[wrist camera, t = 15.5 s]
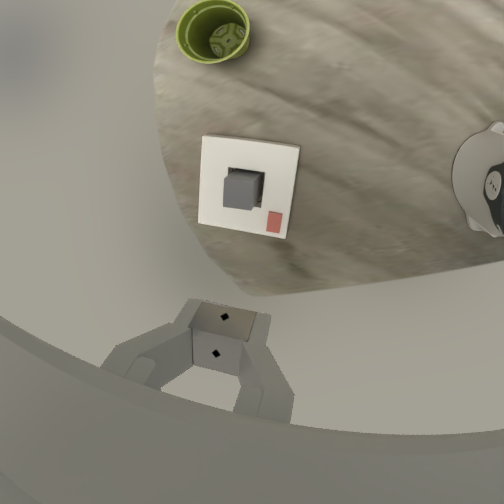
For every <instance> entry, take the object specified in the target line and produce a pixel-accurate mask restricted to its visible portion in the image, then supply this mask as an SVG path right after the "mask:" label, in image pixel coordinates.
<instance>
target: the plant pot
mask: <svg viewBox="0 0 504 504" xmlns="http://www.w3.org/2000/svg"><path fill="white" fill-rule="evenodd" d="M222 28H224V30H222V31H220V32H219V33H218V34H217V32H218V31H219V30H220V29H222ZM239 29H241V30H242V31H243V32H244V33H245V36H243V34H242V33H241V32H240V31H239ZM249 31H250V23H249V19H248V16H247V14H246V12H245V11H244V9H243V8H242V7H241V6H240V5H238V4H237V3H235V2H234V1H231V0H201V1H199V2H197V3H195V4H193V5H192V6H191V7H189V8H188V9H187V10H186V11H185V12H184V13H183V15H182V16H181V18H180V20H179V22H178V24H177V28H176V42H177V45H178V47H179V49H180V50H181V52H182V53H183V54H184V55H185V56H186V57H188V58H189V59H191V60H193V61H195V62H199V63H205V64H213V63H219V62H222V61H225V60H231V59H235V58H238V57H240V56H241V55H243V54H244V53H245V52H246V50H247V49H248V47H249V43H250V36H249ZM228 39H230V42H227V40H228ZM214 47H216V48H217V50H218V51H219V52H220V53H217V52H216V51H215V49H214Z"/></svg>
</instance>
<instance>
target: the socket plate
mask: <svg viewBox="0 0 504 504" xmlns="http://www.w3.org/2000/svg"><path fill="white" fill-rule="evenodd" d="M299 152H300V146H298V145H292V144H286V143H279V142H273V141H265V140H258V139H250V138H242V137H233V136H224V135H214V134H207V135H204V136H203V138H202V153H201V171H200V191H199V217H198V223H201V224H207V225H212V226H218V227H224V228H229V229H235V230H240V231H246V232H251V233H257V234H262V235H267V236H273V237H278V238H283V239H285V238H286V234H287V229H288V223H289V217H290V211H291V204H292V198H293V192H294V185H295V179H296V172H297V166H298V159H299ZM232 168H239V169H246V170H253V171H260V172H265V180H264V188H263V197H262V202H256V204H255V206H254V207H253V209H252V211H250V210H242V209H235V208H228V207H223V188H224V178H225V177H227V176H228V175H229V174H230V173H231V172H232Z"/></svg>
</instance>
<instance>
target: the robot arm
mask: <svg viewBox="0 0 504 504" xmlns="http://www.w3.org/2000/svg"><path fill="white" fill-rule="evenodd" d="M503 131H504V123H502V122H500V121H495V122H493V123H492V124H491V125H490V126H489V127H488V129H487V130H485V131H483V132H480V133H477V134H475V135H473V136H471V137H470V138H469V139H467V140H466V141H465V142H464V144H463V145H462V146H461V148H460V149H459V151H458V153H457V155H456V158H455V161H454V165H453V171H452V182H453V189H454V193H455V195H456V198H457V200H458V202H459V204H460V205H461V206H462V208H463V209H464V211H465V213H466V219H467V223H468V226H469V228H471V229H472V230H474V231H486V232H487V233H489V234H490V235H491V236H493V237H495V238H496V237H497V236H499V237H504V133H503ZM270 322H271V314H267V313H261V312H254V311H249V310H245V309H240V308H235V307H230V306H227V305H223V304H218V303H215V302H210V301H207V300H202V299H198V298H195V297H190V298H189V299H188V300H187V302H186V304H185V305H184V307H183V308H182V310H181V311H180V313H179V314H178V316H177V318H176V319H175V321H174V323H173V324H172V323H167V324H165V325H163V326H160V327H158V328H156V329H153V330H151V331H149V332H147V333H144V334H142V335H140V336H137V337H135V338H133V339H130V340H128V341H126V342H123V343H121V344H119V345H116V346H115V348H114V349H113V350H112V352H111V353H110V354H109V356H108V357H107V358H106V360H105V361H104V363H103V364H102V365H101V367H100V368H99V367H96V366H95V365H92V364H90V363H88V362H86V361H84V360H81V359H79V358H77V357H75V356H72V355H70V354H69V353H67V352H64V351H62V350H60V349H58V348H56V347H54V346H52V345H51V344H48V343H47V342H45V341H43V340H41V339H39V338H37V337H35V336H34V335H32V334H30V333H28V332H26V331H24V330H23V329H21V328H19V327H18V326H16V325H14V324H12V323H11V322H9V321H8V320H6V319H4V318H3V317H1V316H0V504H504V429H500V430H494V431H486V432H475V433H462V434H443V435H394V434H392V435H391V434H372V433H359V432H347V431H338V430H329V429H322V428H314V427H307V426H300V425H294V424H290V420H291V414H292V408H293V401H294V393H293V391H292V389H291V387H290V386H289V384H288V382H287V381H286V379H285V377H284V375H283V373H282V372H281V370H280V368H279V366H278V365H277V362H276V361H275V359H274V357H273V355H272V353H271V352H270V350H269V348H268V347H267V346H266V342H267V336H268V332H269V327H270ZM193 365H195V366H199V367H203V368H208V369H212V370H216V371H220V372H223V373H227V374H230V375H234V376H238V379H239V381H240V384H241V388H240V391H239V394H238V398H237V400H236V403H235V406H234V409H233V412H231V411H226V410H223V409H219V408H215V407H211V406H208V405H204V404H201V403H197V402H194V401H190V400H187V399H184V398H181V397H177V396H174V395H171V394H168V393H165V392H162V391H161V387H162V386H164V385H165V384H167V383H168V382H170V381H171V380H173V379H174V378H176V377H177V376H179V375H180V374H182V373H183V372H185V371H186V370H188V369H189V368H191V367H192V366H193Z"/></svg>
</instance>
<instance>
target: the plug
mask: <svg viewBox="0 0 504 504" xmlns="http://www.w3.org/2000/svg"><path fill="white" fill-rule="evenodd" d="M262 175H263V172H260V171H253V170H246V169H239V168H236V169H235V170H234V171H233V172H231V173H230V174H229V175H228V176H227V177H225V178H224V188H223V207H228V208H235V209H242V210H250V211H252V209H253V207H254V206H255V204H256V202H257V201H258V199H259V198H260V196H261V187H262Z"/></svg>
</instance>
